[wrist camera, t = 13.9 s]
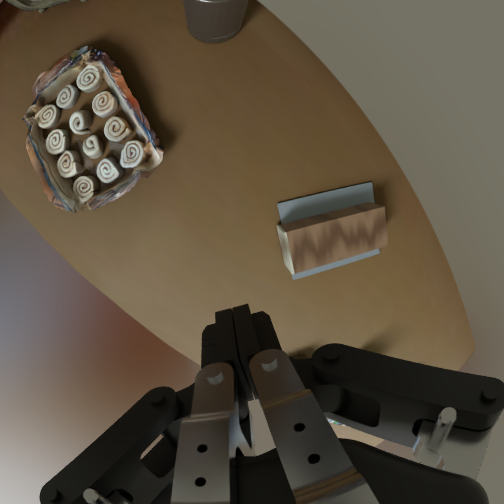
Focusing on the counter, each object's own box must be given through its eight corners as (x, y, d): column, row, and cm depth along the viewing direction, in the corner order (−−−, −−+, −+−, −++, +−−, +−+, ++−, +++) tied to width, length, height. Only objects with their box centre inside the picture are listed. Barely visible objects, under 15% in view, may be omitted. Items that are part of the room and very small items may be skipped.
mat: (277, 203, 47) (277, 203, 46) (370, 181, 48) (371, 182, 47) (292, 279, 51) (293, 279, 51) (378, 252, 52) (379, 253, 52)
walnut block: (283, 232, 43) (384, 206, 44) (276, 225, 47) (370, 201, 48) (292, 274, 45) (388, 245, 46) (284, 263, 50) (374, 237, 51)
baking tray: (15, 115, 35) (-1, 113, 29) (96, 34, 33) (85, 23, 28) (90, 233, 44) (77, 242, 39) (184, 152, 42) (180, 151, 37)
